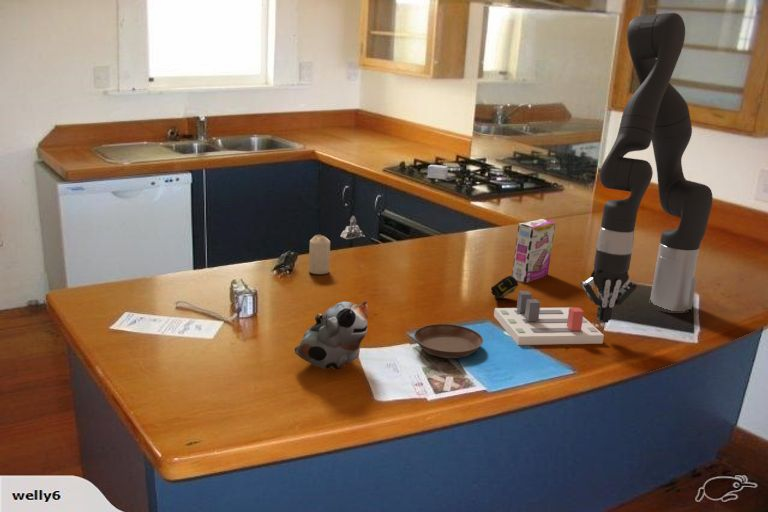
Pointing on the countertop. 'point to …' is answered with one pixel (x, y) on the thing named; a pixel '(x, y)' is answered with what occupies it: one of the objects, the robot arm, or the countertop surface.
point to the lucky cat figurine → (335, 336)
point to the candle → (319, 255)
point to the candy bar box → (533, 250)
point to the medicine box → (437, 171)
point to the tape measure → (504, 287)
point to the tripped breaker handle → (575, 318)
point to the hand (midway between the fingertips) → (602, 321)
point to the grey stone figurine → (351, 233)
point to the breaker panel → (543, 324)
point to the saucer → (448, 340)
